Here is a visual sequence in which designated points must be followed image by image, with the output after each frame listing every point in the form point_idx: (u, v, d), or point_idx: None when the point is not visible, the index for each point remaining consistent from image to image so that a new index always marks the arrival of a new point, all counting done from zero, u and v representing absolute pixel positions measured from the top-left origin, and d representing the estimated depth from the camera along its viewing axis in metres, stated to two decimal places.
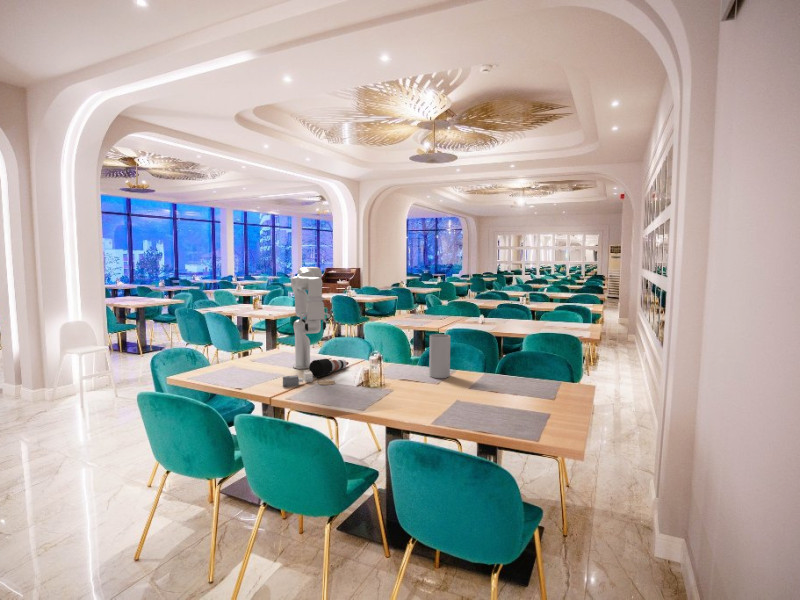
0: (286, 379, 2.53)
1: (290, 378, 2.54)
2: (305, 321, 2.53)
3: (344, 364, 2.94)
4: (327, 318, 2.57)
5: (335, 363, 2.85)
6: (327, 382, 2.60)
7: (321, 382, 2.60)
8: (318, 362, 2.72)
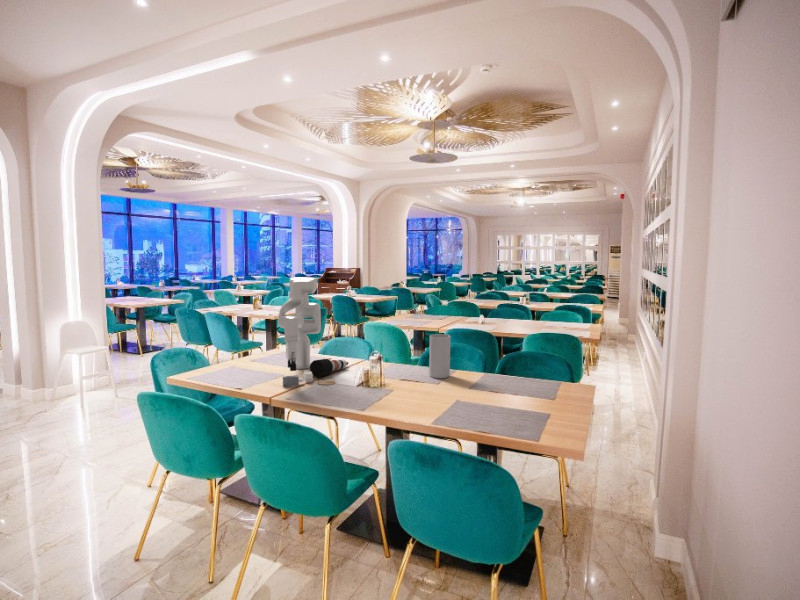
0: (286, 379, 2.53)
1: (290, 378, 2.54)
2: None
3: (344, 364, 2.94)
4: None
5: (335, 363, 2.85)
6: (327, 382, 2.60)
7: (321, 382, 2.60)
8: (318, 362, 2.71)
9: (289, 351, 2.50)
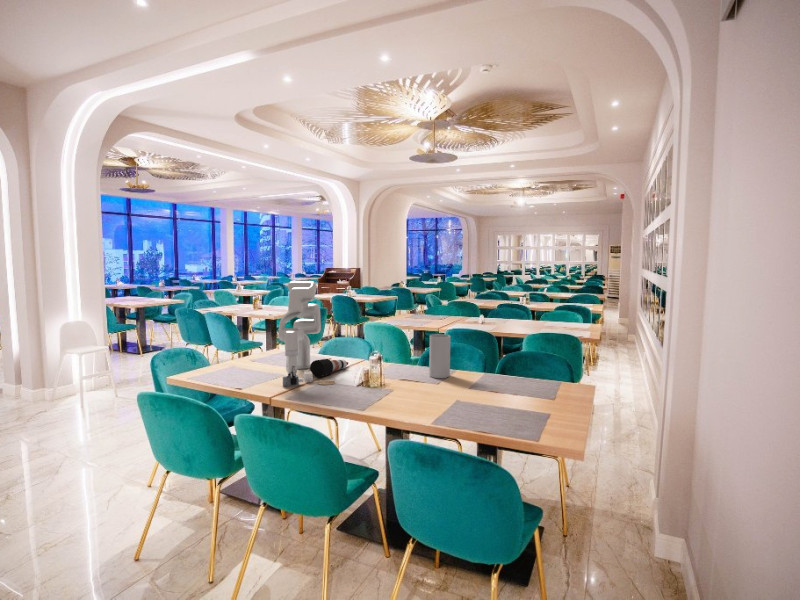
0: (286, 379, 2.53)
1: (290, 378, 2.54)
2: None
3: (344, 364, 2.94)
4: None
5: (335, 363, 2.85)
6: (327, 382, 2.60)
7: (321, 382, 2.60)
8: (319, 362, 2.71)
9: (289, 365, 2.51)
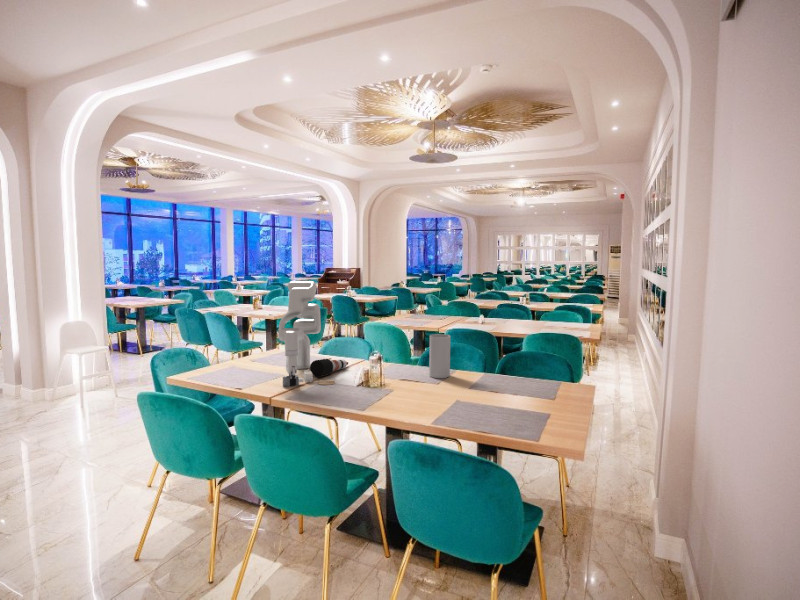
0: (286, 379, 2.53)
1: None
2: None
3: (344, 364, 2.94)
4: (292, 371, 2.60)
5: (335, 363, 2.85)
6: (327, 382, 2.60)
7: (321, 382, 2.60)
8: (319, 362, 2.71)
9: (289, 365, 2.51)
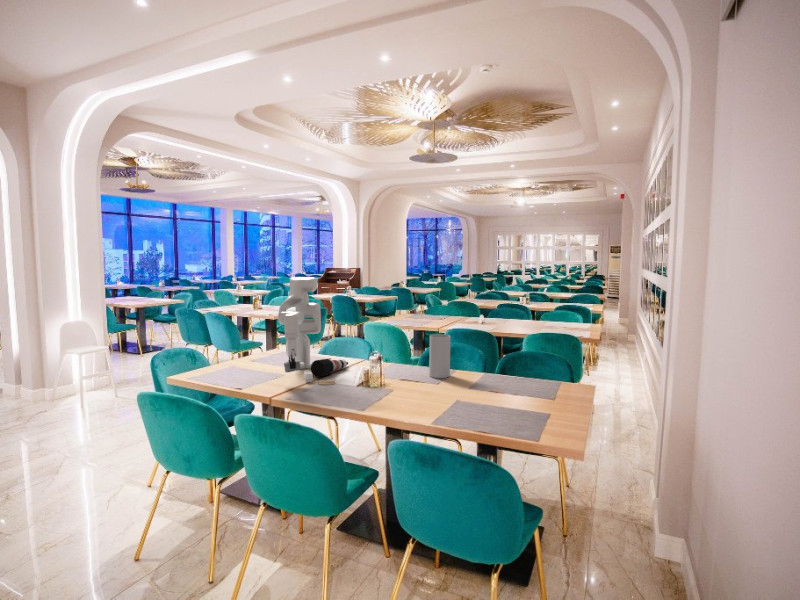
0: (287, 365, 2.54)
1: None
2: (294, 360, 2.53)
3: (344, 364, 2.94)
4: None
5: (336, 363, 2.85)
6: (327, 382, 2.60)
7: (321, 382, 2.60)
8: (320, 362, 2.71)
9: (289, 348, 2.50)
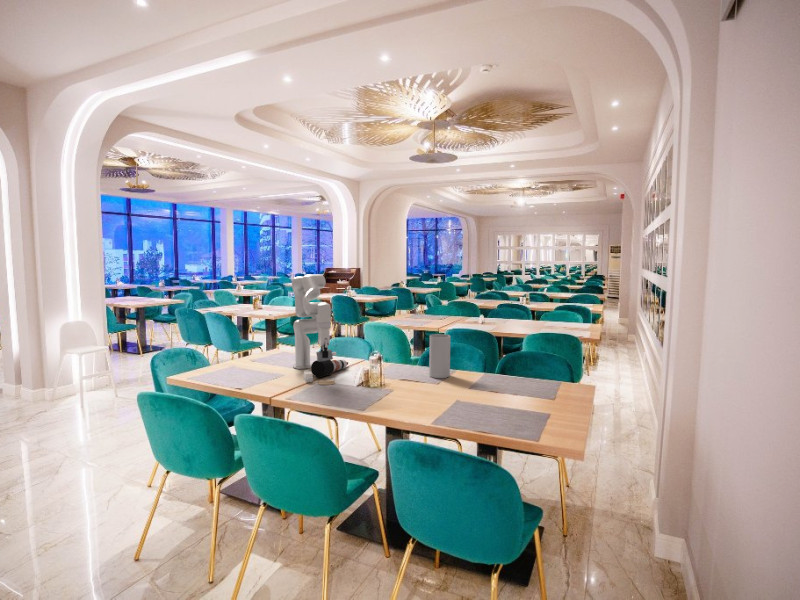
0: (320, 354, 2.57)
1: None
2: (327, 349, 2.57)
3: (344, 364, 2.94)
4: (324, 344, 2.64)
5: (336, 363, 2.85)
6: (327, 382, 2.60)
7: (321, 382, 2.60)
8: (320, 362, 2.71)
9: (322, 337, 2.54)
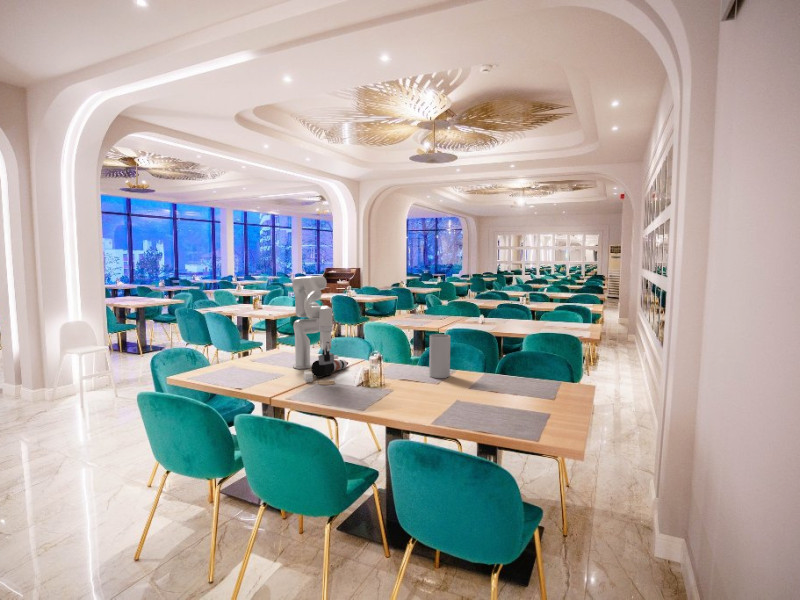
0: (322, 358, 2.58)
1: None
2: (328, 352, 2.57)
3: (344, 364, 2.94)
4: None
5: (336, 363, 2.85)
6: (327, 382, 2.60)
7: (321, 382, 2.60)
8: None
9: (324, 341, 2.55)
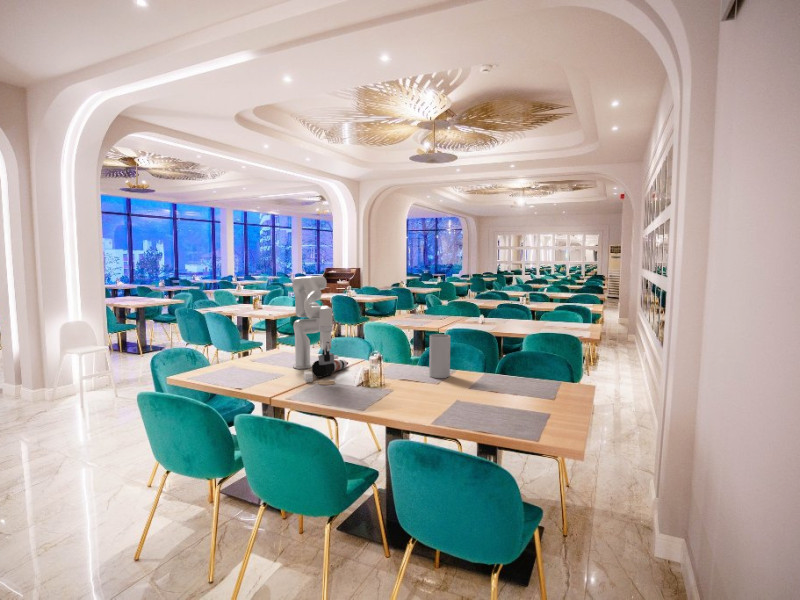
0: (322, 358, 2.58)
1: None
2: (328, 352, 2.57)
3: (345, 364, 2.94)
4: None
5: (337, 363, 2.85)
6: (327, 382, 2.60)
7: (321, 382, 2.60)
8: None
9: (324, 341, 2.55)
